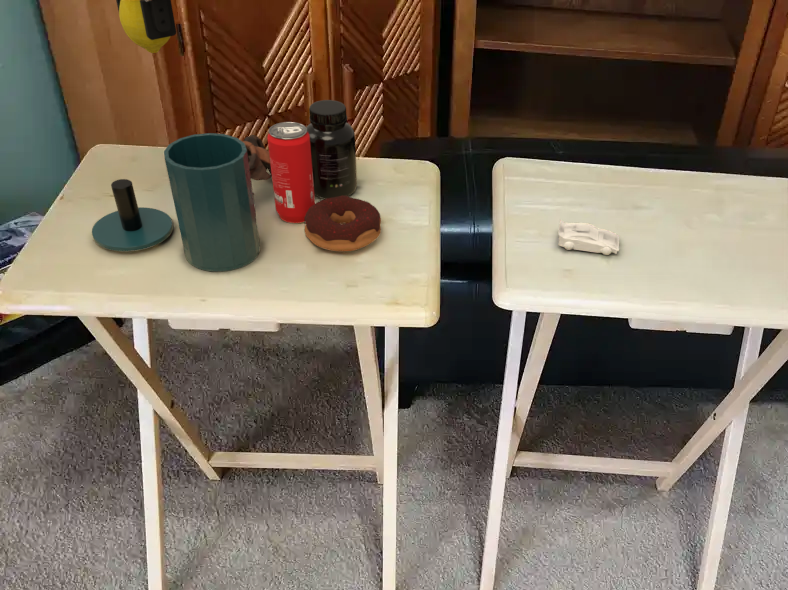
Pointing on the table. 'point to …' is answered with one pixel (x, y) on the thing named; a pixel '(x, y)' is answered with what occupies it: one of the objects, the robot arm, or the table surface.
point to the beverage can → (291, 170)
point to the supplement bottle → (332, 150)
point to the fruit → (137, 26)
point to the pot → (213, 201)
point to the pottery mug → (257, 158)
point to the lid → (131, 223)
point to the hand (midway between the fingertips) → (148, 26)
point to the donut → (342, 237)
